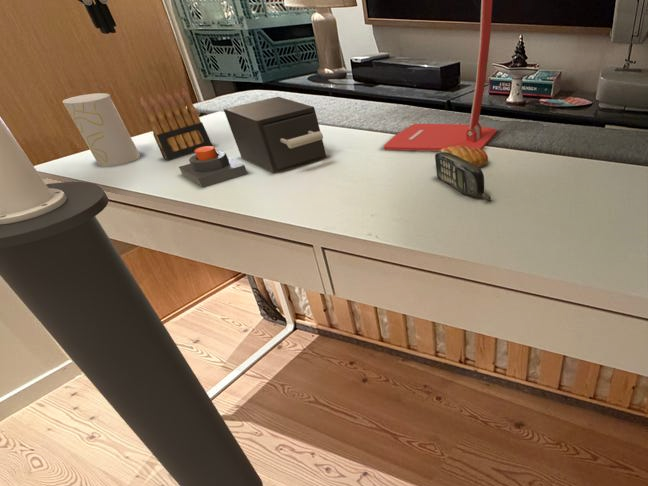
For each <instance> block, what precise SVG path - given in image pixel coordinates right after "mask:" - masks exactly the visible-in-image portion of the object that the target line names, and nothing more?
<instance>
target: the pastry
mask: <svg viewBox="0 0 648 486" xmlns="http://www.w3.org/2000/svg"><path fill="white" fill-rule="evenodd" d="M441 152H447V153H451V154H453V155H456V156H458V157H460V158H462V159H464V160H466V161H468V162H470V163H472V164H473V165H475V166H476V167H478V168H482V167H483V166H484V165H486V164H488V162H489V156H488V154H487V152H486V150H484V149H479V148H476V149H474V148H472V147H467V146H464V147H463V146H460V145H459V146H456V147H448V148H443V149H441V151H440V153H441Z"/></svg>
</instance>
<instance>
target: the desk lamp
mask: <svg viewBox="0 0 648 486" xmlns="http://www.w3.org/2000/svg"><path fill="white" fill-rule="evenodd" d="M480 2H481V3H480V23H479V24H480V26H479V42H478V43H479V44H478V54H477V64H476V76H475V84H474V85H475V86H474V93H473V100H472V106H471V113H470V121H469V124H464V123H463V124H461V123H460V124H459V123H414V124H412V125H410V126H407V127H406V128H404V129H402V130H401V131H399V132H398V133H396V134H395V135H394V136H393V137H391V138H390V139H389V140H388V141H387V142H386V143H385V144H383V149H384V150H387V151H388V150H389V151H440V152H441V149H443V148H448V147H456V146H459V145H460V146H463V147H464V146H467V147H472V148H474V149H476V148H479V149H482V150H484V148H485V147H486V146H487V144H489V142H491V140H492V139H493V138H494V137H495V136H496V134H498V129H497V128H493V127H486V126H482V125H481V123H480V122H479V121H480V115H481V109H482V104H483V98H484V93H485V86H486V79H487V70H488V63H489V62H488V61H489V54H490V53H489V52H490V43H491V30H492V13H493V0H481V1H480Z"/></svg>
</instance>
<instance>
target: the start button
mask: <svg viewBox="0 0 648 486" xmlns="http://www.w3.org/2000/svg"><path fill="white" fill-rule="evenodd" d="M194 151H195V152H194V155H196V156H197V158H198V160H209V159H213V158H216V157H218V155H217V153H216V151H217V150H216V148H215V146H214V145H212V146H204V147H200V148H197V149H195V150H194Z"/></svg>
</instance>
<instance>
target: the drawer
mask: <svg viewBox="0 0 648 486" xmlns="http://www.w3.org/2000/svg"><path fill="white" fill-rule="evenodd" d="M315 113H316V112H315ZM315 113H310V114H302V115H298V116H294V117H290V118H286V119H282V120H278V121H274V122H270V123H266V124H262V128H263V131H264V134H265V138H266V141H267V144H268V147H269V150H270V153H271V156H272V159H273V162H274V165H275V168H276V169H281V168H284V167H288V166H291V165H294V164H297V163H301V162H304V161H307V160H310V159H313V158H317V157H320V156H323V155H326V156H327V152H326V148H325V144H324V140H323V139H324V135H323V133H322V132H321V129H320V124H319V121H318V116H317V113H316V114H315Z"/></svg>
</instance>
